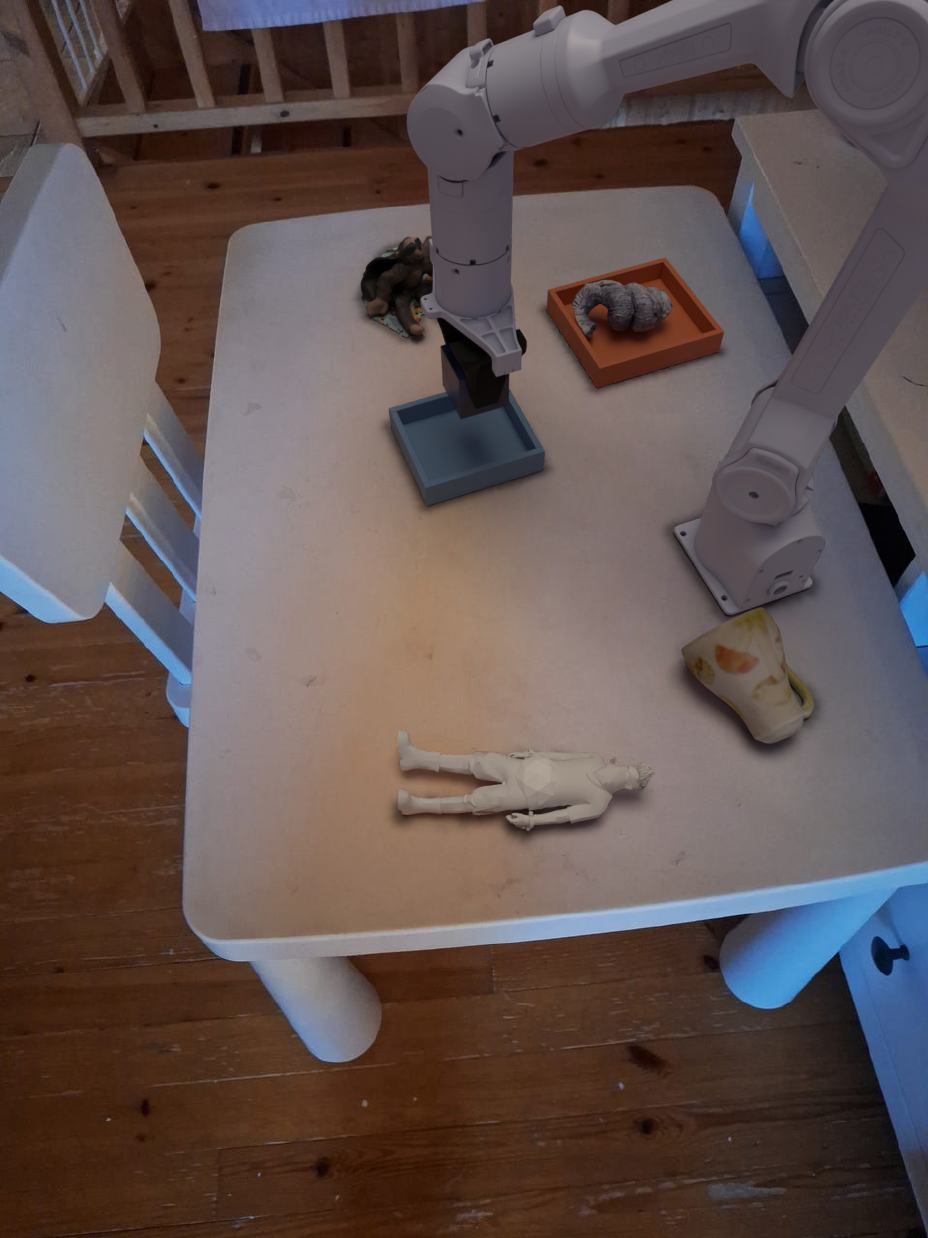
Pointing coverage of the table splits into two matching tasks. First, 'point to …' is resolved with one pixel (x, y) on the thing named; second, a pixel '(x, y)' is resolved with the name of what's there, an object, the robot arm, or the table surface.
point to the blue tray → (464, 446)
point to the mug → (751, 674)
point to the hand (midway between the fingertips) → (474, 382)
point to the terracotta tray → (630, 351)
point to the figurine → (524, 783)
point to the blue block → (464, 386)
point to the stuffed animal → (398, 285)
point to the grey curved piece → (621, 305)
